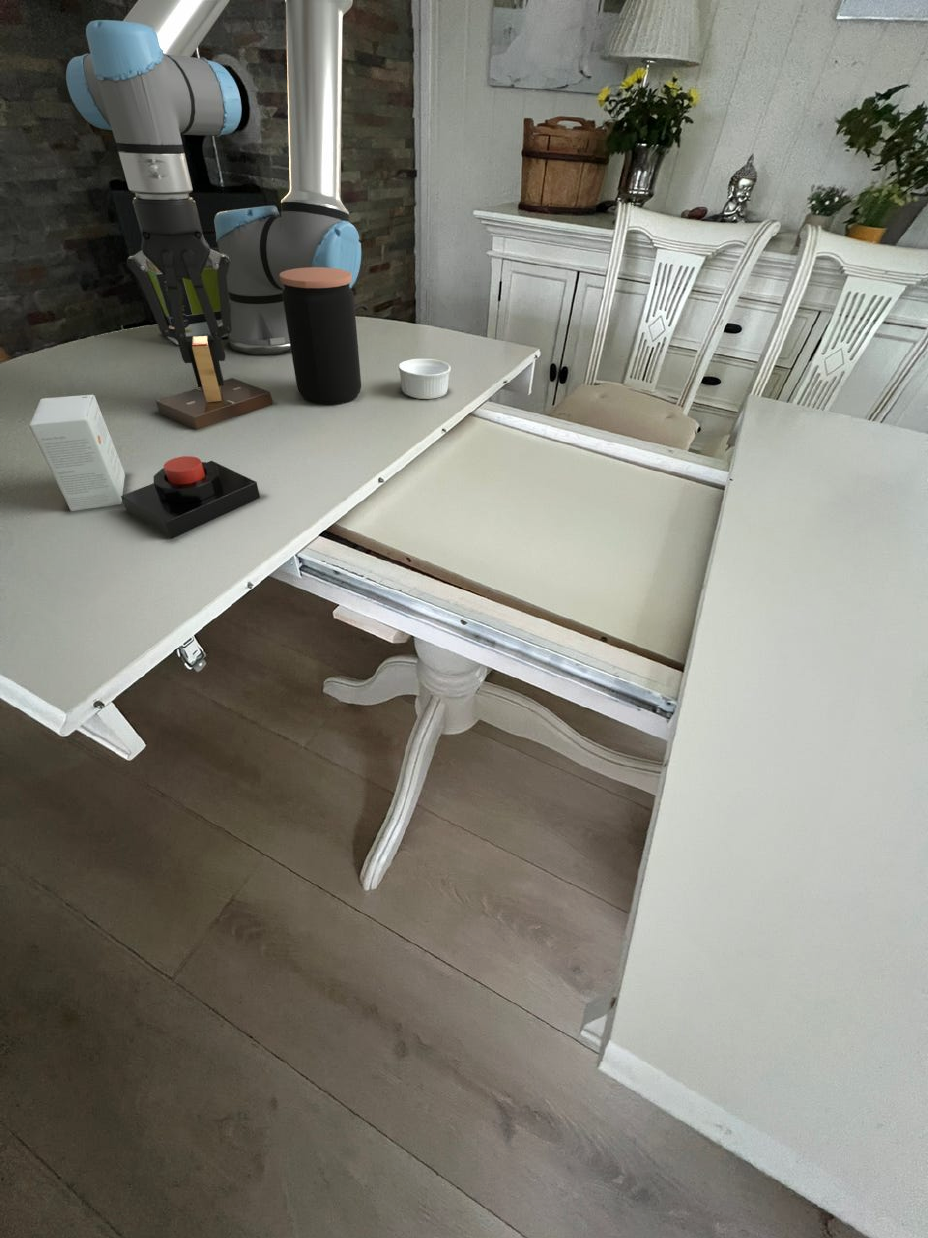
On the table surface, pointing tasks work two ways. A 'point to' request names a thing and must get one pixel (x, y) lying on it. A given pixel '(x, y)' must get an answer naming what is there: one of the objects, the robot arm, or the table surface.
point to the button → (184, 470)
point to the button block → (190, 499)
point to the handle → (206, 369)
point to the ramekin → (424, 378)
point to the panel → (214, 404)
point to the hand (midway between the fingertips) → (210, 382)
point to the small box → (79, 451)
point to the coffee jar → (322, 334)
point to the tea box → (190, 299)
